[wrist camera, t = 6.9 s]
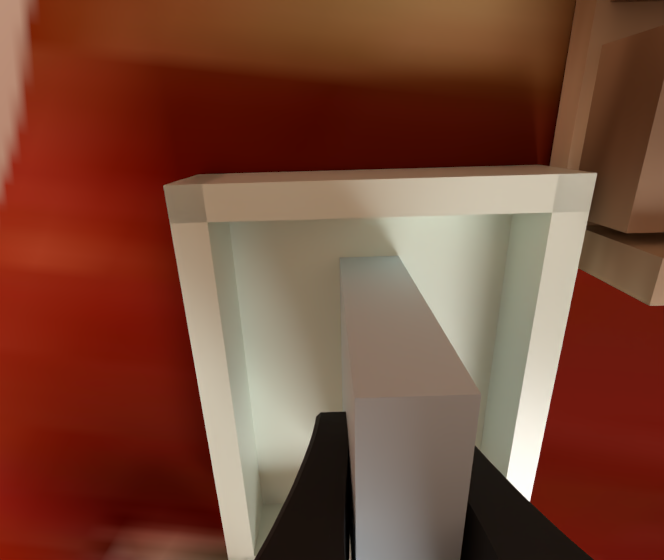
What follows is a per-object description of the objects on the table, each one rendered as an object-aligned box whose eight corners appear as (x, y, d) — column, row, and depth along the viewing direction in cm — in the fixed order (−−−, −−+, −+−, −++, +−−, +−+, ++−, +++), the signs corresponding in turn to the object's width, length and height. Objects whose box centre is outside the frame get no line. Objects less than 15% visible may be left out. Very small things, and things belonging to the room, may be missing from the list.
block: (390, 468, 13) (439, 716, 8) (343, 469, 13) (357, 719, 8) (398, 255, 11) (480, 394, 5) (339, 257, 11) (355, 398, 5)
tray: (487, 499, 15) (516, 566, 12) (245, 506, 14) (231, 574, 12) (538, 164, 10) (597, 172, 8) (199, 174, 10) (163, 185, 8)
